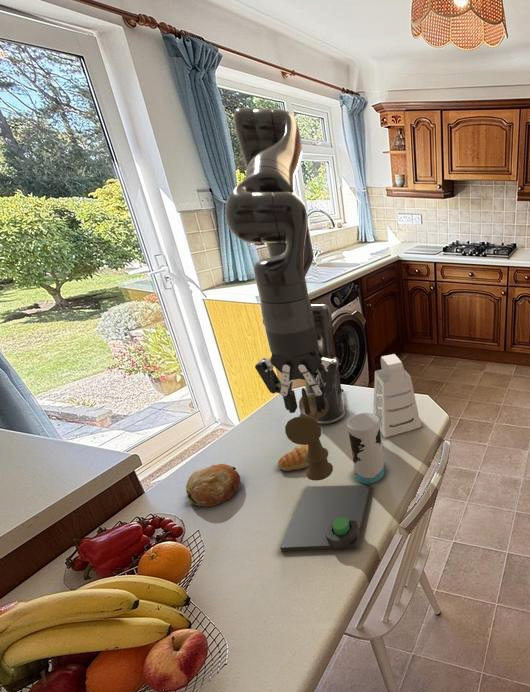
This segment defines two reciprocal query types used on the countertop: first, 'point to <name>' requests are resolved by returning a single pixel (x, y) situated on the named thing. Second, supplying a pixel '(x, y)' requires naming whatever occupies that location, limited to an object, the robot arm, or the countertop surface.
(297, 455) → the pastry
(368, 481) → the cup
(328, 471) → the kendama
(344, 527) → the tare button
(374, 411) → the grater
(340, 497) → the scale
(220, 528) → the countertop surface
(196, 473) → the bread roll
